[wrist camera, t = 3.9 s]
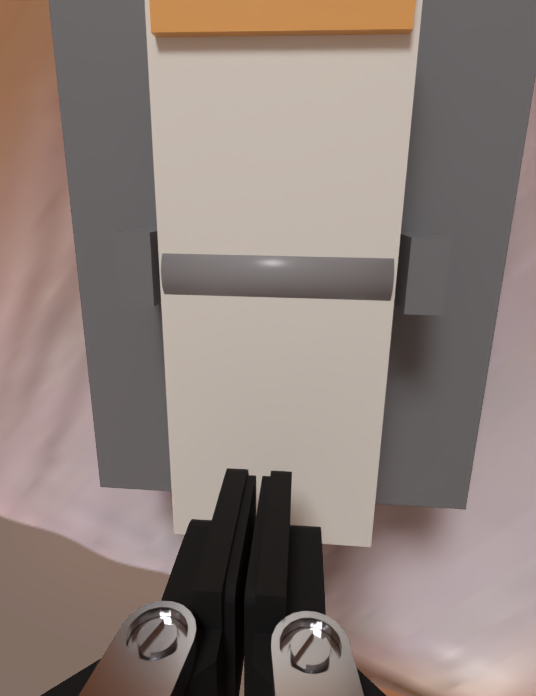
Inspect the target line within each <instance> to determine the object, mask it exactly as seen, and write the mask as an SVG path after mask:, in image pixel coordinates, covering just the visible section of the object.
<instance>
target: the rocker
mask: <svg viewBox="0 0 536 696" xmlns="http://www.w3.org/2000/svg"><path fill="white" fill-rule="evenodd" d="M422 2H423V0H145V18H146V36H147V54H148V72H149V90H150V108H151V127H152V145H153V163H154V181H155V199H156V217H157V235H158V254H159V272H160V290H161V308H162V326H163V344H164V362H165V380H166V399H167V417H168V435H169V453H170V471H171V489H172V507H173V525H174V534H184V535H185V533H186V530H187V527H188V525H189V522H190V521H191V520H192V519H199V520H212V517H213V514H214V510H215V507H216V503H217V500H218V497H219V493H220V490H221V486H222V483H223V479H224V476H225V473H226V470H227V468H232V469H248V471H249V475H256V514H257V507H258V501H259V494H260V488H261V481H262V476H270V474H271V471H289V472H292V486H291V516H290V525H299V526H316V527H321V535H322V544H331V545H346V546H361V547H371V542H372V531H373V521H374V510H375V500H376V489H377V478H378V468H379V457H380V447H381V436H382V425H383V415H384V404H385V394H386V383H387V373H388V362H389V351H390V341H391V330H392V320H393V309H394V299H395V288H396V277H397V267H398V256H399V246H400V235H401V225H402V214H403V203H404V193H405V182H406V172H407V161H408V151H409V140H410V129H411V119H412V108H413V98H414V87H415V76H416V66H417V55H418V45H419V34H420V24H421V13H422Z"/></svg>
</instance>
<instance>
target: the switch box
mask: <svg viewBox="0 0 536 696" xmlns="http://www.w3.org/2000/svg"><path fill="white" fill-rule="evenodd" d="M49 9H50V18H51V27H52V37H53V46H54V55H55V65H56V74H57V83H58V93H59V102H60V112H61V121H62V130H63V140H64V149H65V158H66V168H67V177H68V186H69V196H70V205H71V215H72V224H73V233H74V243H75V252H76V261H77V271H78V280H79V290H80V299H81V308H82V318H83V327H84V336H85V346H86V355H87V364H88V374H89V383H90V393H91V402H92V411H93V421H94V430H95V439H96V449H97V458H98V467H99V477H100V486H101V487H110V488H126V489H142V490H159V491H172V489H171V471H170V453H169V435H168V417H167V399H166V380H165V362H164V344H163V326H162V308H161V290H160V272H159V254H158V235H157V217H156V199H155V181H154V163H153V145H152V127H151V108H150V90H149V72H148V54H147V36H146V18H145V0H49ZM535 77H536V0H423V2H422V13H421V24H420V34H419V45H418V55H417V66H416V76H415V87H414V98H413V108H412V119H411V129H410V140H409V151H408V161H407V172H406V182H405V193H404V203H403V214H402V225H401V235H400V246H399V256H398V267H397V277H396V288H395V299H394V309H393V320H392V330H391V341H390V351H389V362H388V373H387V383H386V394H385V404H384V415H383V425H382V436H381V447H380V457H379V468H378V478H377V489H376V500H375V504H388V505H404V506H421V507H437V508H453V509H466V503H467V497H468V491H469V484H470V478H471V472H472V466H473V460H474V454H475V447H476V441H477V435H478V429H479V423H480V417H481V410H482V404H483V398H484V392H485V386H486V379H487V373H488V367H489V361H490V355H491V349H492V342H493V336H494V330H495V324H496V318H497V312H498V305H499V299H500V293H501V287H502V281H503V275H504V268H505V262H506V256H507V250H508V244H509V237H510V231H511V225H512V219H513V213H514V207H515V200H516V194H517V188H518V182H519V176H520V170H521V163H522V157H523V151H524V145H525V139H526V132H527V126H528V120H529V114H530V108H531V102H532V95H533V89H534V83H535Z"/></svg>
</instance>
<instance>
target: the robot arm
mask: <svg viewBox="0 0 536 696" xmlns="http://www.w3.org/2000/svg"><path fill="white" fill-rule="evenodd" d="M291 486H292V472H289V471H271V474H270V476H262V481H261V488H260V494H259V501H258V507H257V514H256V475H249V471H248V469H232V468H227V470H226V473H225V476H224V479H223V483H222V486H221V490H220V493H219V497H218V500H217V503H216V507H215V510H214V514H213V517H212V520H199V519H192V520H191V521H190V522H189V525H188V527H187V530H186V533H185V536H184V538H183V541H182V544H181V547H180V550H179V552H178V555H177V558H176V561H175V564H174V566H173V569H172V572H171V575H170V577H169V580H168V583H167V586H166V589H165V592H164V594H163V597H162V600H161V601H158V602H153V603H149V604H147V605H144V606H142V607H140V608H138V609H137V610H136V611H134V612H133V613H132V614H130V615H129V617H128V618H127V619H126V620H125V621H124V623H123V624H122V625H121V627H120V628H119V630H118V632H117V633H116V635H115V637H114V638H113V640H112V642H111V643H110V645H109V646H108V648H107V650H106V651H105V653H104V655H103V657H102V658H101V659H100V660H98V661H96V662H95V663H93V664H91V665H90V666H88V667H86V668H85V669H83V670H81V671H80V672H78V673H77V674H75V675H73V676H72V677H70V678H69V679H67V680H65V681H63V682H62V683H60V684H59V685H57V686H55V687H54V688H52V689H50V690H49V691H47V692H46V693H44V694H42V695H41V696H239V691H240V684H241V676H242V669H243V661H244V688H245V689H244V696H386V695H385V694H384V693H383V692H382V691H381V690H379V688H377V687H376V686H375V685H374V684H373V683H372V682H371V681H370V680H369V679H368V678H367V677H366V676H364V675H363V674H362V673H361V672H360V671H359V670H358V669H357V668H356V664H355V660H354V657H353V653H352V649H351V645H350V642H349V639H348V637H347V635H346V633H345V631H344V630H343V628H342V627H341V626H340V625H339V624H338V623H337V622H336V621H335V620H333V619H332V618H330V617H329V616H327V615H326V613H325V593H324V574H323V554H322V535H321V527H316V526H299V525H290V516H291Z"/></svg>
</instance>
